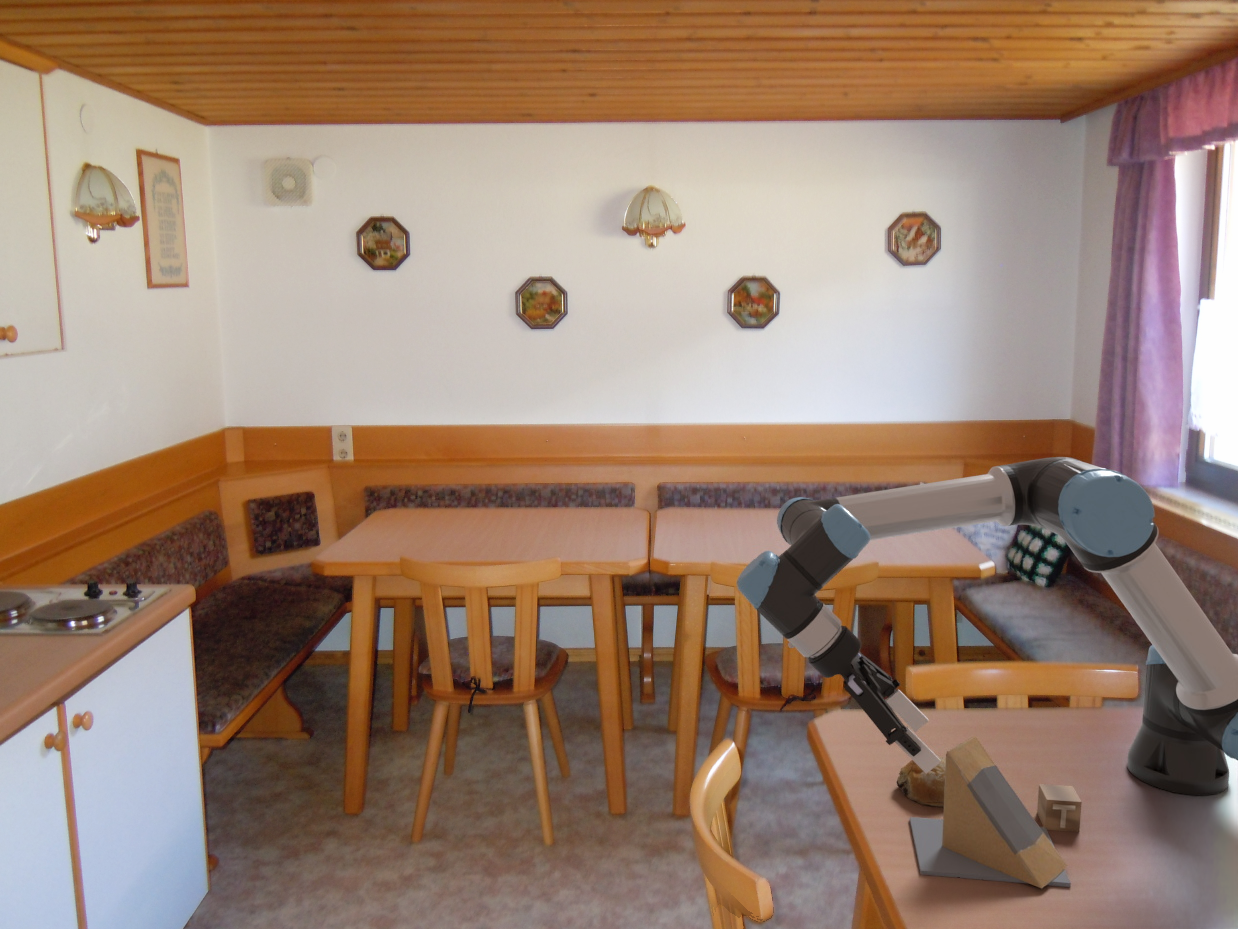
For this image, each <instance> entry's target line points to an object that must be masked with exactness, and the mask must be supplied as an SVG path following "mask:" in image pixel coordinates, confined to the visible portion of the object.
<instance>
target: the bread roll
mask: <svg viewBox="0 0 1238 929" xmlns="http://www.w3.org/2000/svg"><path fill="white" fill-rule="evenodd" d="M937 757H938V758H939V759H940V760H941V762H940V763H939V764H938V765H937V766H935V767H934V768H933V769H932V770H930V771H929V772H928V773H927V774H926V773H925V772H924V771H923V770H922V769H921V768H920V767H919V766H918V765H917V764H916V763H915V762H914V761H913V760H912V759H911V760H910V761H909V762H908V763H906V765H904V766H903V767H901V768H900V771H899V773H898V775H899V776H897V780H896V785H897V787H899V789H901V793H903V795H904V796H905V797H907V798H908V799H909V800H912V801H914V802H915V803H918V804H920V805H922V806H932V807H940V808H941V807H943V808H944V789H945V766H946V757H940V756H937Z"/></svg>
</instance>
